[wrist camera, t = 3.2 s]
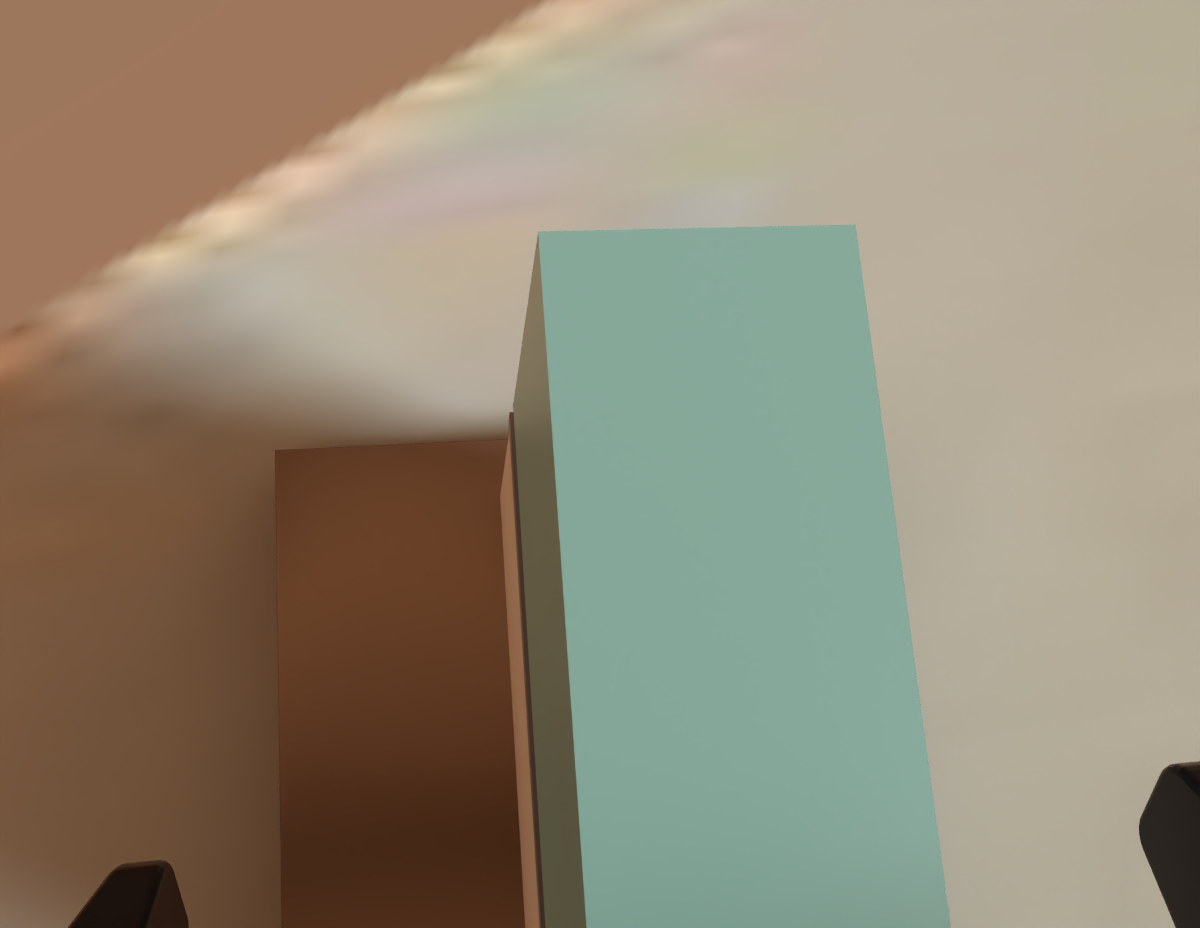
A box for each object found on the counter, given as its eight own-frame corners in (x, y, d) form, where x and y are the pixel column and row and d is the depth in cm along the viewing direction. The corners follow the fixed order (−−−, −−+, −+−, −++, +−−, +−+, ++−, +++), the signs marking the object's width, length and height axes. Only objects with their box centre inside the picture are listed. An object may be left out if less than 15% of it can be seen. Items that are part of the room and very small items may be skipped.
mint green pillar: (812, 1326, 11) (1067, 1791, 6) (573, 1364, 11) (653, 1885, 6) (717, 397, 13) (855, 225, 8) (512, 405, 13) (539, 231, 8)
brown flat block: (922, 1319, 18) (962, 1373, 16) (305, 1418, 17) (289, 1487, 15) (815, 443, 21) (841, 423, 20) (289, 468, 20) (275, 449, 18)
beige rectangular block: (699, 1116, 17) (807, 1310, 11) (535, 1137, 16) (567, 1348, 11) (645, 488, 19) (713, 403, 13) (498, 496, 18) (509, 412, 13)
